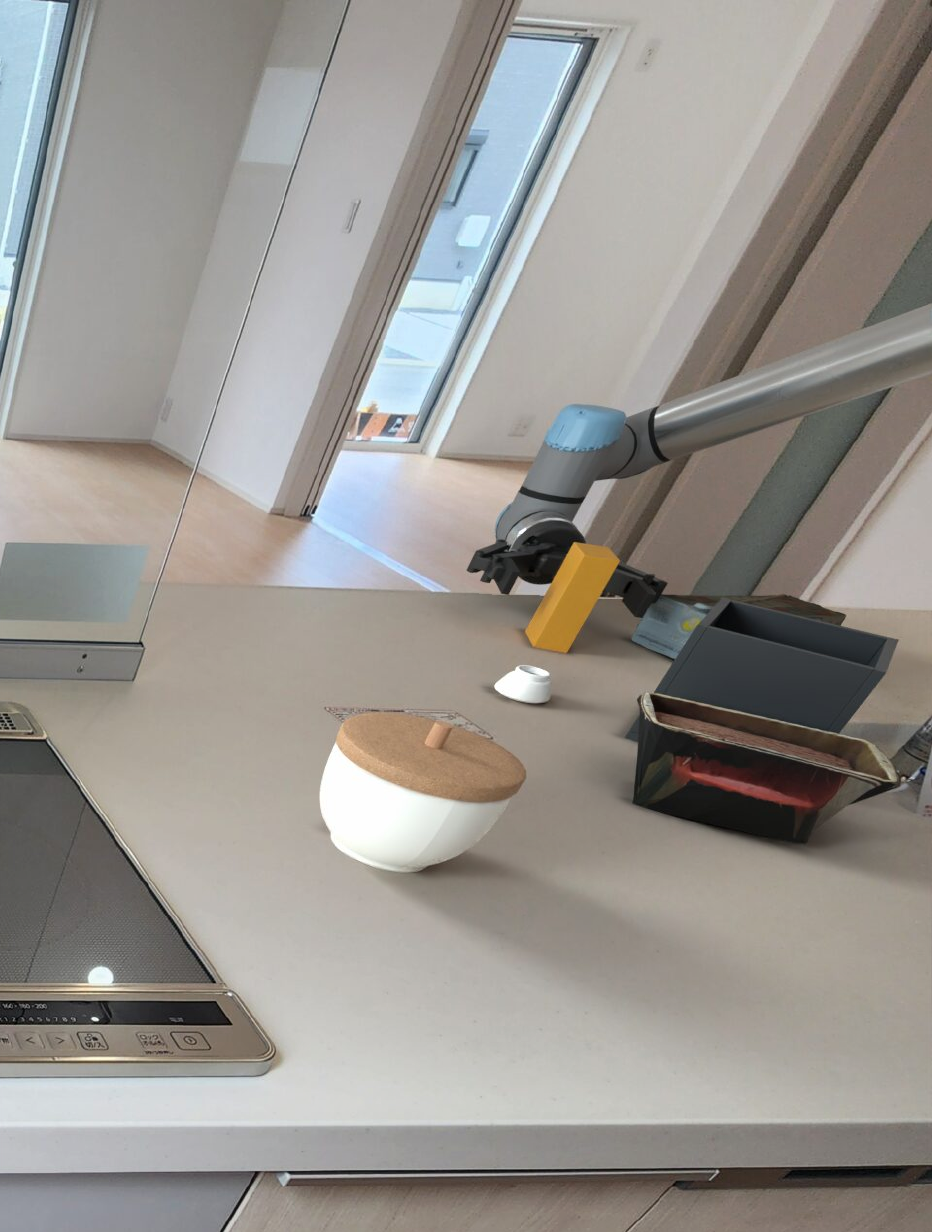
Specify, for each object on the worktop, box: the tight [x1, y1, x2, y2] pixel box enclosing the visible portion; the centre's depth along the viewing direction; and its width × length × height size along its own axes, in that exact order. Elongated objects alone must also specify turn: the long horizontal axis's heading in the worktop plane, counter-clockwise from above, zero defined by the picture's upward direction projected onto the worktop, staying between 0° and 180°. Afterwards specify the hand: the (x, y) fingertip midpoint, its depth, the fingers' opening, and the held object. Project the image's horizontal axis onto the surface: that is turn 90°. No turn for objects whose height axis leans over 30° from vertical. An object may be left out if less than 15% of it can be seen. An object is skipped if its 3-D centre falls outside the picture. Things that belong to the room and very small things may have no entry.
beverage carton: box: [631, 593, 847, 660], centre depth 128 cm, size 8×19×7 cm, turn 96°
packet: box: [524, 542, 621, 654], centre depth 126 cm, size 4×6×11 cm, turn 155°
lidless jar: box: [493, 664, 552, 704], centre depth 114 cm, size 5×3×5 cm
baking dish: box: [632, 691, 902, 845], centre depth 94 cm, size 14×18×10 cm
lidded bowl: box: [319, 712, 527, 874], centre depth 83 cm, size 13×13×11 cm
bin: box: [624, 598, 899, 743], centre depth 104 cm, size 14×14×12 cm
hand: (577, 594), depth 124 cm, fingers open, 13 cm apart
